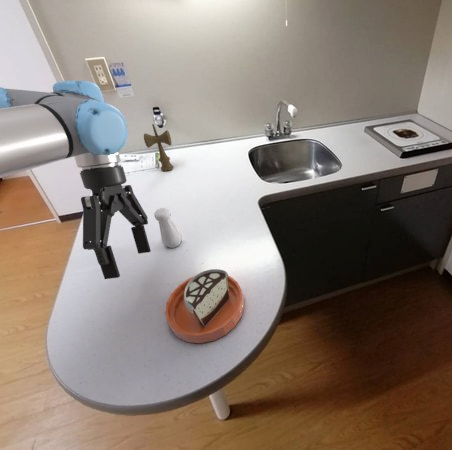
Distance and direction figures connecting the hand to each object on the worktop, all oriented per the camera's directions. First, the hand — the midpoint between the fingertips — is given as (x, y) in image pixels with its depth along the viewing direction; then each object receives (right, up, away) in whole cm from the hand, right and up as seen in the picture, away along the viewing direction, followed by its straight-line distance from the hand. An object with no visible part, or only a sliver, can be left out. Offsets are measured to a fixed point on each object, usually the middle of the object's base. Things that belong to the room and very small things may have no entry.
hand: (130, 263), depth 67 cm
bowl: (+14, -13, +10) cm, 22 cm away
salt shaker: (-2, +3, +29) cm, 29 cm away
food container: (+14, -13, +10) cm, 21 cm away
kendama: (-20, +33, +65) cm, 76 cm away
